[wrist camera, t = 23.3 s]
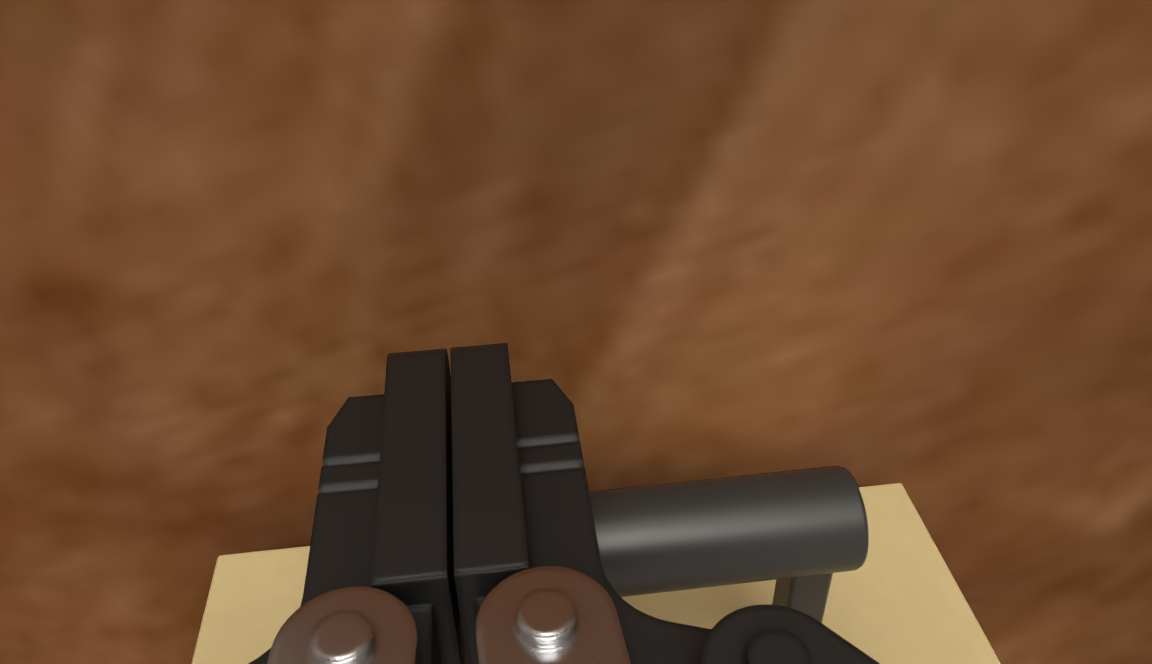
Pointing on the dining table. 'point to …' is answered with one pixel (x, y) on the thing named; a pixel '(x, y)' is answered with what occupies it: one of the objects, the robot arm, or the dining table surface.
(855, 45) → the dining table surface
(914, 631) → the drawer
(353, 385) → the dining table surface
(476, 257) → the dining table surface
